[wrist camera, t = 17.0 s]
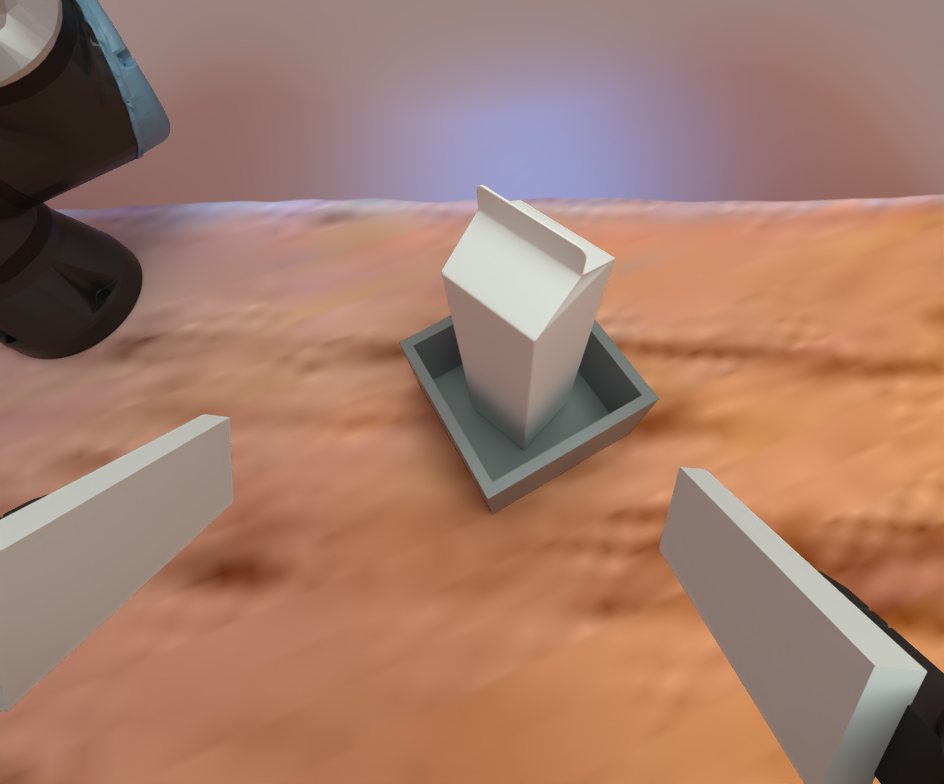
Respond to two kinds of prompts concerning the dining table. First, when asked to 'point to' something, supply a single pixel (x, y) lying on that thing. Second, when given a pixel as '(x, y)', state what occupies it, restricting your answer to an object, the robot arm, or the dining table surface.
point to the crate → (559, 443)
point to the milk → (522, 311)
